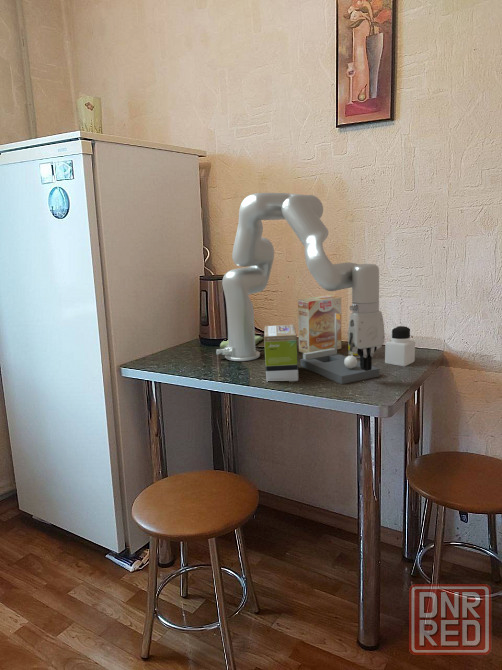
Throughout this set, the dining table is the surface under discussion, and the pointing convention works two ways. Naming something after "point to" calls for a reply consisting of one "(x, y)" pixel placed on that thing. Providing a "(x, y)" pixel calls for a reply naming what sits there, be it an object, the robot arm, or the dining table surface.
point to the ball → (350, 362)
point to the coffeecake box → (318, 323)
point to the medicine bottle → (400, 347)
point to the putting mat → (335, 364)
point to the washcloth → (224, 343)
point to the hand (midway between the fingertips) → (365, 369)
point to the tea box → (281, 353)
